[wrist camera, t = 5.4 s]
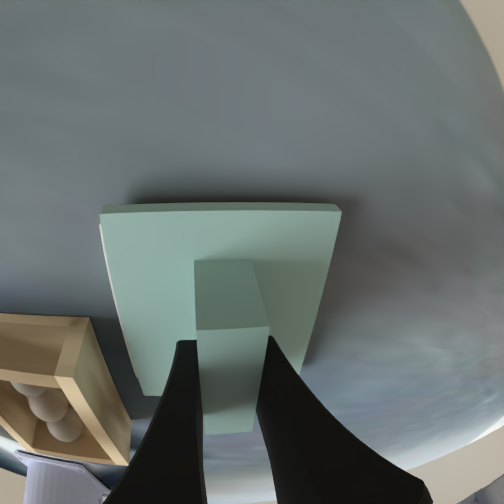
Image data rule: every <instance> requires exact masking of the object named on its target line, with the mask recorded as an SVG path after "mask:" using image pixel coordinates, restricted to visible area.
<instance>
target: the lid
mask: <svg viewBox="0 0 504 504" xmlns="http://www.w3.org/2000/svg"><path fill="white" fill-rule="evenodd" d="M341 214H342V211H341V210H340V209H339V208H338V207H337V206H336V205H335V204H322V203H275V202H204V203H157V204H129V205H107V206H104V207H103V209H102V211H101V212H100V221H101V227H102V233H103V239H104V245H105V250H106V256H107V261H108V266H109V271H110V275H111V280H112V285H113V289H114V294H115V298H116V302H117V306H118V310H119V314H120V318H121V322H122V326H123V329H124V333H125V337H126V340H127V344H128V347H129V351H130V354H131V357H132V361H133V364H134V367H135V370H136V373H137V376H138V380H139V383H140V386H141V388H142V391H143V394H144V396H162V394H163V391H164V388H165V385H166V382H167V379H168V376H169V373H170V370H171V366H172V362H173V358H174V354H175V349H176V342H178V341H179V340H197V351H198V364H199V377H200V389H201V400H202V410H203V420H204V429H205V435H215V434H230V433H241V432H252V428H253V423H254V417H255V412H256V406H257V400H258V395H259V389H260V383H261V377H262V372H263V366H264V360H265V354H266V348H267V342H268V336H270V335H271V336H273V337H274V338H275V340H276V342H277V344H278V345H279V347H280V349H281V350H282V352H283V353H284V355H285V356H286V358H287V359H288V361H289V362H290V364H291V365H292V367H293V368H294V370H295V371H296V372H297V374H298V375H299V374H300V370H301V367H302V364H303V361H304V357H305V354H306V351H307V347H308V344H309V341H310V337H311V334H312V330H313V327H314V323H315V320H316V316H317V312H318V309H319V305H320V301H321V298H322V294H323V290H324V286H325V282H326V278H327V274H328V270H329V266H330V262H331V258H332V254H333V250H334V245H335V241H336V237H337V232H338V228H339V223H340V219H341Z"/></svg>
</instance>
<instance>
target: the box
mask: <svg viewBox="0 0 504 504" xmlns="http://www.w3.org/2000/svg"><path fill="white" fill-rule="evenodd" d="M0 424H1V425H2V426H3V428H4V429H5V430H6V431H7V432H8V433H9V434H10V435H11V436H12V437H13V438H14V439H15V440H16V441H17V442H19V443H20V444H21V445H22V446H23V447H24V448H25V449H26V450H27V451H31V452H35V453H40V454H44V455H49V456H55V457H60V458H66V459H72V460H79V461H86V462H94V463H102V464H112V465H125V466H128V465H129V458H130V432H131V419H130V417H129V415H128V413H127V411H126V409H125V407H124V405H123V402H122V400H121V398H120V396H119V393H118V391H117V389H116V387H115V384H114V382H113V379H112V377H111V375H110V372H109V370H108V367H107V365H106V362H105V360H104V357H103V354H102V352H101V349H100V346H99V344H98V341H97V338H96V335H95V332H94V329H93V327H92V324H91V321H90V318H89V317H66V316H41V315H22V314H6V313H0Z"/></svg>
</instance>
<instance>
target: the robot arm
mask: <svg viewBox="0 0 504 504" xmlns="http://www.w3.org/2000/svg"><path fill="white" fill-rule="evenodd" d="M256 413H257V417H258V420H259V424H260V427H261V431H262V434H263V438H264V441H265V445H266V448H267V452H268V455H269V459H270V464H271V469H272V474H273V480H274V485H275V491H276V497H277V503H278V504H432V503H433V500H432V498H431V496H430V493H429V491H428V489H427V487H426V486H425V484H424V482H423V481H422V480H421V479H419V478H417V477H415V476H413V475H411V474H409V473H408V472H406V471H404V470H402V469H401V468H399V467H397V466H395V465H394V464H392V463H391V462H389V461H388V460H386V459H385V458H383V457H382V456H380V455H379V454H377V453H376V452H375V451H373V450H372V449H371V448H369V447H368V446H367V445H366V444H364V443H363V442H362V441H360V440H359V439H358V438H357V437H355V436H354V435H353V434H352V433H351V432H350V431H349V430H347V429H346V428H345V427H344V426H343V425H342V424H341V423H340V422H339V421H338V420H337V419H336V418H335V417H334V416H333V415H332V414H331V413H330V412H329V411H328V410H327V409H326V408H325V407H324V406H323V404H322V403H321V402H320V401H319V400H318V399H317V398H316V396H315V395H314V394H313V393H312V392H311V390H310V389H309V388H308V387H307V385H306V384H305V383H304V382H303V380H302V379H301V378H300V376H299V375H298V374H297V372H296V371H295V370H294V368H293V367H292V365H291V364H290V362H289V361H288V359H287V358H286V356H285V355H284V353H283V352H282V350H281V349H280V347H279V345H278V344H277V342H276V340H275V338H274V337H273V336H271V335H270V336H268V342H267V348H266V354H265V360H264V366H263V372H262V377H261V383H260V389H259V395H258V400H257V406H256ZM14 456H15V457H17V458H18V459H19V460H20V461H21V462H23V463H24V464H25V465H26V466H27V467H28V471H27V478H26V486H25V495H24V504H208V503H207V496H206V488H205V480H204V471H203V410H202V400H201V389H200V377H199V364H198V351H197V340H179V341H178V342H176V349H175V354H174V358H173V362H172V366H171V370H170V373H169V376H168V379H167V382H166V385H165V388H164V391H163V394H162V397H161V399H160V402H159V404H158V407H157V409H156V411H155V414H154V416H153V419H152V421H151V423H150V425H149V428H148V430H147V432H146V434H145V436H144V438H143V440H142V442H141V444H140V446H139V448H138V449H137V451H136V453H135V455H134V456H133V458H132V460H131V462H130V464H129V465H128V467H127V469H126V470H125V472H124V473H123V475H122V476H121V478H120V479H119V481H118V482H117V484H116V485H115V487H114V488H113V490H112V491H110V490H109V489H108V488H107V487H105V486H104V485H103V484H102V483H101V482H100V481H99V480H97V479H96V478H95V477H94V476H93V475H92V474H91V473H90V472H89V471H88V470H87V469H86V468H85V467H84V466H82V465H80V464H74V463H68V462H62V461H57V460H52V459H47V458H42V457H37V456H33V455H29V454H25V453H21V452H17V451H14ZM103 494H109V496H108V497H107V498H106V500H105V501H104V502H103ZM457 504H504V474H503V475H502V476H500V477H499V478H497V479H496V480H494V481H493V482H492V483H490V484H489V485H487V486H486V487H484V488H482V489H480V490H478V491H477V492H475V493H473V494H472V495H470V496H469V497H467V498H466V499H464V500H462V501H461V502H459V503H457Z"/></svg>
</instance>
